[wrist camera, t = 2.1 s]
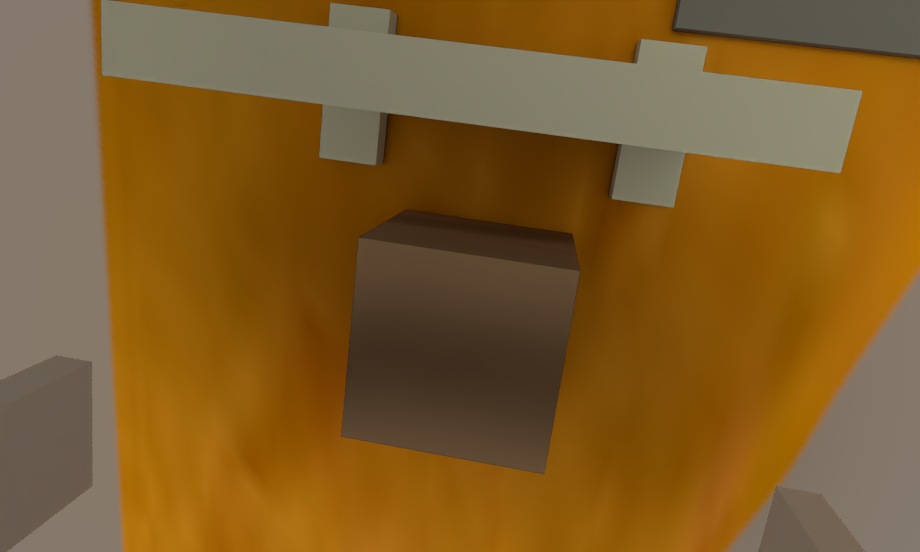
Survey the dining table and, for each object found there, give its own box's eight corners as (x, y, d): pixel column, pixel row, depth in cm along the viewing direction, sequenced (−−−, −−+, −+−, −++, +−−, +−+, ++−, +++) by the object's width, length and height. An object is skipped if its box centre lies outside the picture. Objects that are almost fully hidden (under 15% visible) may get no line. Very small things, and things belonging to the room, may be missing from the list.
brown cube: (406, 209, 23) (358, 237, 17) (571, 233, 22) (580, 271, 17) (389, 368, 24) (340, 443, 19) (544, 394, 24) (542, 481, 18)
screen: (340, 8, 22) (99, -130, 10) (700, 50, 20) (901, -51, 9) (328, 156, 23) (103, 186, 11) (667, 204, 22) (806, 293, 10)
